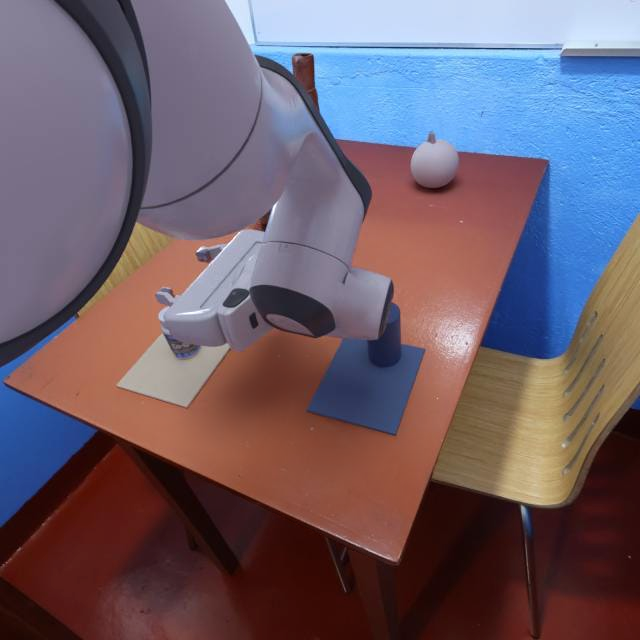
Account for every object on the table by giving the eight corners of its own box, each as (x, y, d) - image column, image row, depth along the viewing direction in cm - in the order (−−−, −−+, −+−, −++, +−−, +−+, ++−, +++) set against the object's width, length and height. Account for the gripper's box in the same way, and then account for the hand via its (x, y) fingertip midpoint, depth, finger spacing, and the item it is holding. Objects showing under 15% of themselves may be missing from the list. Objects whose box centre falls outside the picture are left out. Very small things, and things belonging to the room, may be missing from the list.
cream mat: (187, 408, 70) (186, 407, 70) (116, 387, 75) (115, 385, 75) (251, 319, 83) (251, 317, 83) (187, 306, 88) (186, 304, 88)
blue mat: (395, 435, 62) (395, 434, 62) (306, 411, 67) (306, 409, 67) (425, 350, 72) (425, 348, 72) (346, 334, 77) (346, 332, 77)
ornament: (402, 189, 109) (401, 138, 101) (427, 170, 114) (428, 120, 106) (441, 200, 103) (443, 147, 95) (465, 180, 108) (469, 128, 100)
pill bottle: (178, 364, 77) (159, 327, 71) (170, 347, 80) (152, 310, 74) (205, 352, 78) (189, 314, 72) (196, 335, 81) (180, 298, 75)
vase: (323, 204, 109) (302, 62, 89) (295, 200, 112) (270, 62, 92) (342, 182, 115) (327, 45, 95) (316, 179, 118) (296, 46, 98)
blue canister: (395, 370, 70) (394, 327, 63) (364, 363, 71) (359, 320, 65) (405, 346, 73) (404, 303, 67) (374, 340, 75) (371, 297, 68)
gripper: (298, 223, 64) (214, 214, 69) (219, 323, 51) (123, 302, 56) (305, 261, 68) (225, 249, 73) (234, 362, 55) (143, 339, 60)
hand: (180, 273), depth 65 cm, fingers open, 8 cm apart
